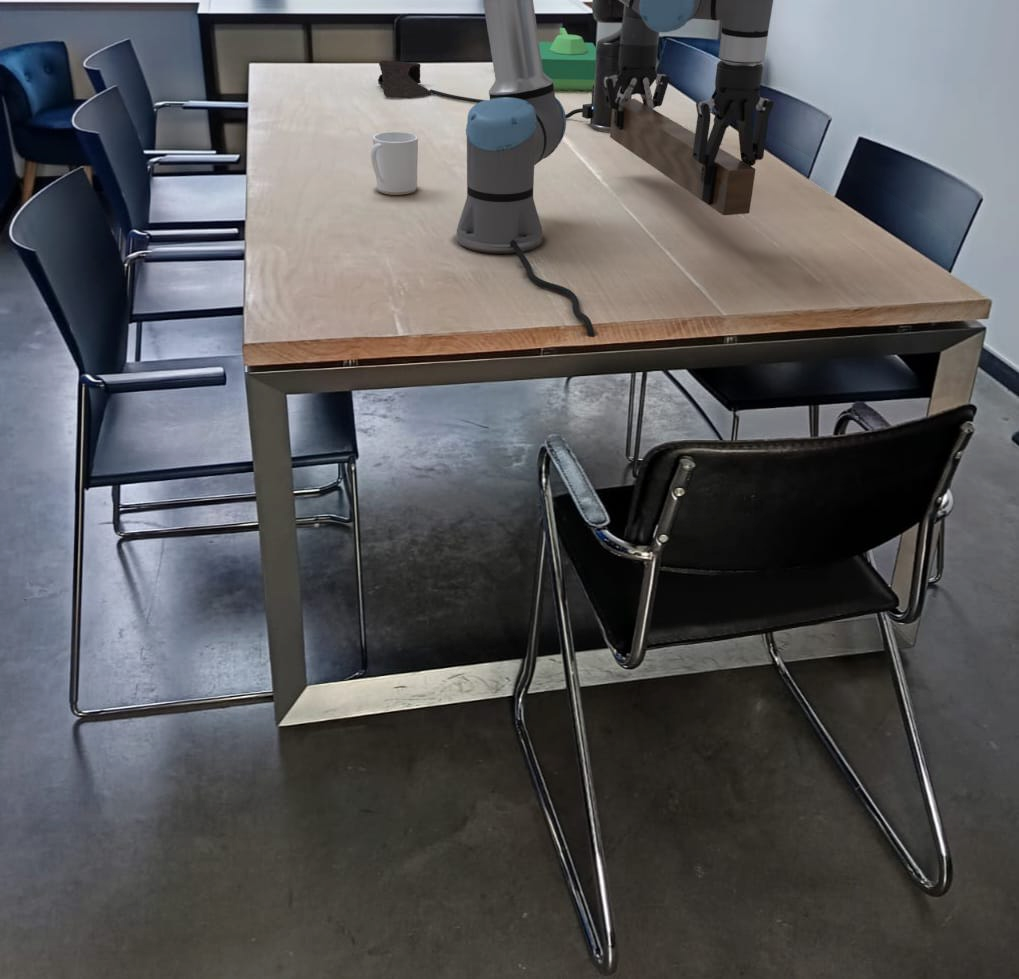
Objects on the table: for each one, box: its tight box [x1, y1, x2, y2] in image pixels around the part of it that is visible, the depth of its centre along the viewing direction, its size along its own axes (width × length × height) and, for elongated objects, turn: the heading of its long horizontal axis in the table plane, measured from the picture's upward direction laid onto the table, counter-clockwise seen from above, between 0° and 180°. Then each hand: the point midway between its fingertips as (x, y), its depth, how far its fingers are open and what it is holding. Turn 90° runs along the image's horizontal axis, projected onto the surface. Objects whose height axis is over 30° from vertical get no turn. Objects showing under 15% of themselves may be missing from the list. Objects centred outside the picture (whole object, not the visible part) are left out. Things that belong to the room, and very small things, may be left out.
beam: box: [609, 98, 757, 216], centre depth 207 cm, size 53×5×8 cm, turn 17°
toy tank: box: [539, 27, 596, 91], centre depth 315 cm, size 18×12×35 cm
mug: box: [370, 131, 419, 196], centre depth 218 cm, size 11×9×10 cm
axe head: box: [377, 59, 433, 99], centre depth 299 cm, size 18×8×15 cm
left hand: (721, 201), depth 192 cm, fingers closed on beam, 5 cm apart
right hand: (632, 128), depth 225 cm, fingers closed on beam, 5 cm apart
